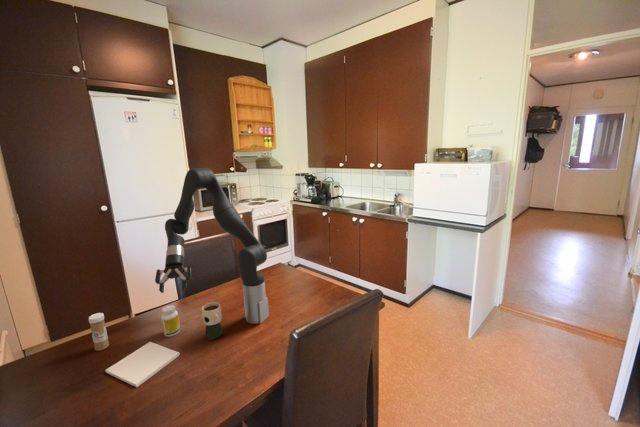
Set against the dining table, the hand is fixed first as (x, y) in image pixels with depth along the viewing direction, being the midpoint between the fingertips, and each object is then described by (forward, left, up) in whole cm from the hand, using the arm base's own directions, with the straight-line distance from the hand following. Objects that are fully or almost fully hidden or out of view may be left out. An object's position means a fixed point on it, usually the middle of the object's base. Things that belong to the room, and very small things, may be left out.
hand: (172, 290), depth 124 cm
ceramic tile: (-13, +24, -14) cm, 30 cm away
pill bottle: (-6, +8, -14) cm, 17 cm away
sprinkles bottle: (+11, +25, -14) cm, 30 cm away
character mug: (-24, +3, -14) cm, 28 cm away
